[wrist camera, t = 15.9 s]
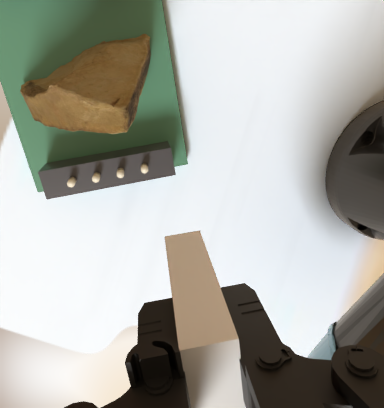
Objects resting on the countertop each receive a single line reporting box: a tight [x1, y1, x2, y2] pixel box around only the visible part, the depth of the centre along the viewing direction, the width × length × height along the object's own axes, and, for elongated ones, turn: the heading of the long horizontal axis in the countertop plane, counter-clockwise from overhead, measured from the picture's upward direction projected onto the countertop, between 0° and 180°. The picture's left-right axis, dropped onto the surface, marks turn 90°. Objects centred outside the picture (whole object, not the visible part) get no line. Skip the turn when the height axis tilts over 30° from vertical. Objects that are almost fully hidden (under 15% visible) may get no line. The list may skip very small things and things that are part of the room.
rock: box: [20, 34, 151, 134], centre depth 26 cm, size 11×9×10 cm
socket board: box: [0, 0, 188, 199], centre depth 28 cm, size 14×18×5 cm
